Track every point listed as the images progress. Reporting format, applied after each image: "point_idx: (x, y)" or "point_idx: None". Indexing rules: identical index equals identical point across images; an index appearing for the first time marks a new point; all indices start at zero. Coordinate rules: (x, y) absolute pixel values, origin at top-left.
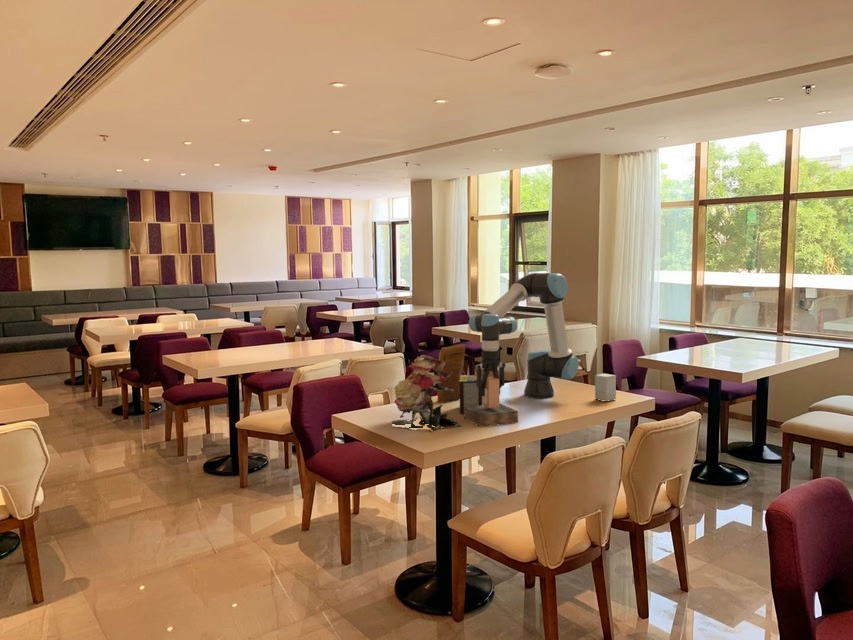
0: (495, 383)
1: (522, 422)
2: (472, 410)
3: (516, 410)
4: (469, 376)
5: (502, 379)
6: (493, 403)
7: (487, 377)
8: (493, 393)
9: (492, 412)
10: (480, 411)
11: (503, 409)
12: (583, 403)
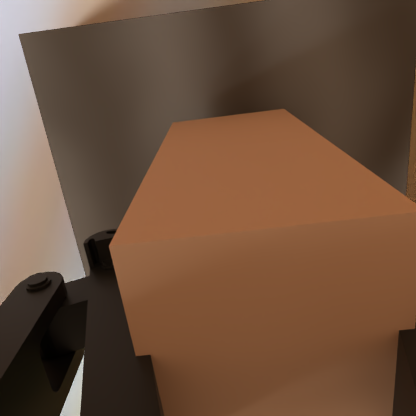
0: (222, 194)
1: (23, 29)
2: (394, 175)
3: (27, 60)
4: None
5: (10, 342)
6: (238, 121)
7: (407, 362)
8: (248, 144)
9: (266, 50)
10: (349, 121)
11: (132, 132)
12: None
